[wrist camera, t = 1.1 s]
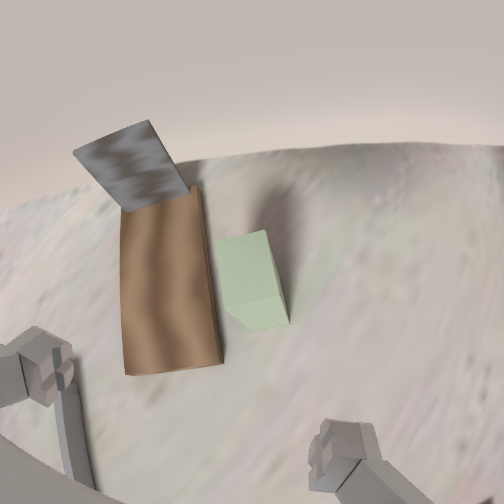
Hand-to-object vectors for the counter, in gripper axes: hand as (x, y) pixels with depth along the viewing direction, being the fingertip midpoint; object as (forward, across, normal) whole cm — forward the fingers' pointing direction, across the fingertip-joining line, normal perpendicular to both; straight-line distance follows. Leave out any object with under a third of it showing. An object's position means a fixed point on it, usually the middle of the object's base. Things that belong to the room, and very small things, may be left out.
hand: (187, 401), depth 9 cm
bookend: (+30, +10, +10) cm, 34 cm away
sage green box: (+28, -3, +8) cm, 29 cm away
